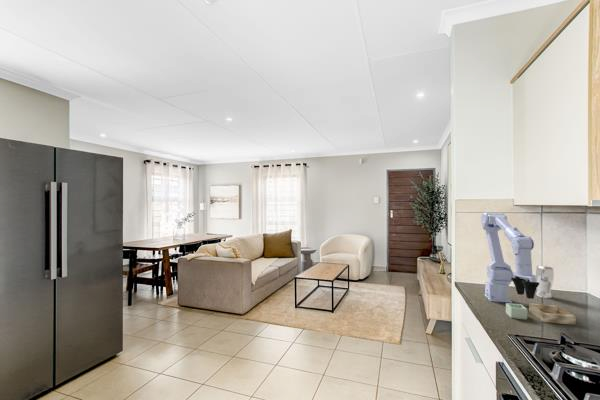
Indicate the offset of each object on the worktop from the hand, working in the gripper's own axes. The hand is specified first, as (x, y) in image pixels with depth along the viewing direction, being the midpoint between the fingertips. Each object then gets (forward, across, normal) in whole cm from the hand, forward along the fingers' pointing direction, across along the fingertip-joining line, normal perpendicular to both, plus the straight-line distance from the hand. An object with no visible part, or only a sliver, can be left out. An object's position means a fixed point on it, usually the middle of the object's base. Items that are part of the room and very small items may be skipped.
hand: (525, 296), depth 123 cm
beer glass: (+5, +30, -22) cm, 38 cm away
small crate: (+9, +2, +3) cm, 10 cm away
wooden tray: (+9, +4, -11) cm, 15 cm away
